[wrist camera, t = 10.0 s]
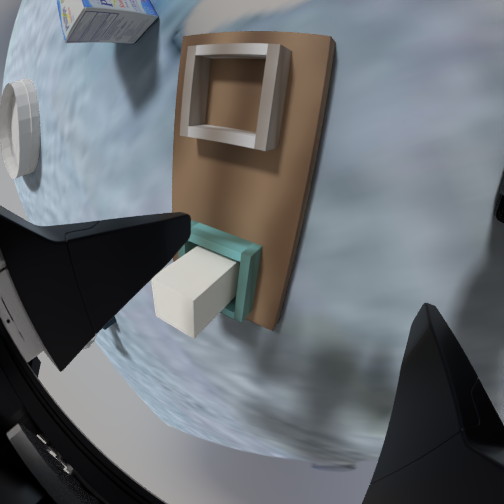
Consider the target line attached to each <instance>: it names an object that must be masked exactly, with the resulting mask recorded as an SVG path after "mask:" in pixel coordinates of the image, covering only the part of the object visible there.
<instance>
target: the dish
mask: <svg viewBox="0 0 504 504" xmlns="http://www.w3.org/2000/svg"><path fill="white" fill-rule="evenodd" d="M0 143H1V150H2V155H3V159H4V163H5V166H6V169H7V171H8V173H9V175H10V176H11V177H12V178H13V179H15V178H18V177H20V176H22V175H24V176H25V175H28V174H30V173H32V172H34V171H35V169H36V166H37V163H38V158H39V150H40V114H39V104H38V98H37V93H36V89H35V86H34V83H33V82H32V81H31V79H22V80H19V81H17V82H12V83H8V84H7V85H6V87H5V89H4V91H3V95H2V98H1V104H0Z"/></svg>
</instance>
